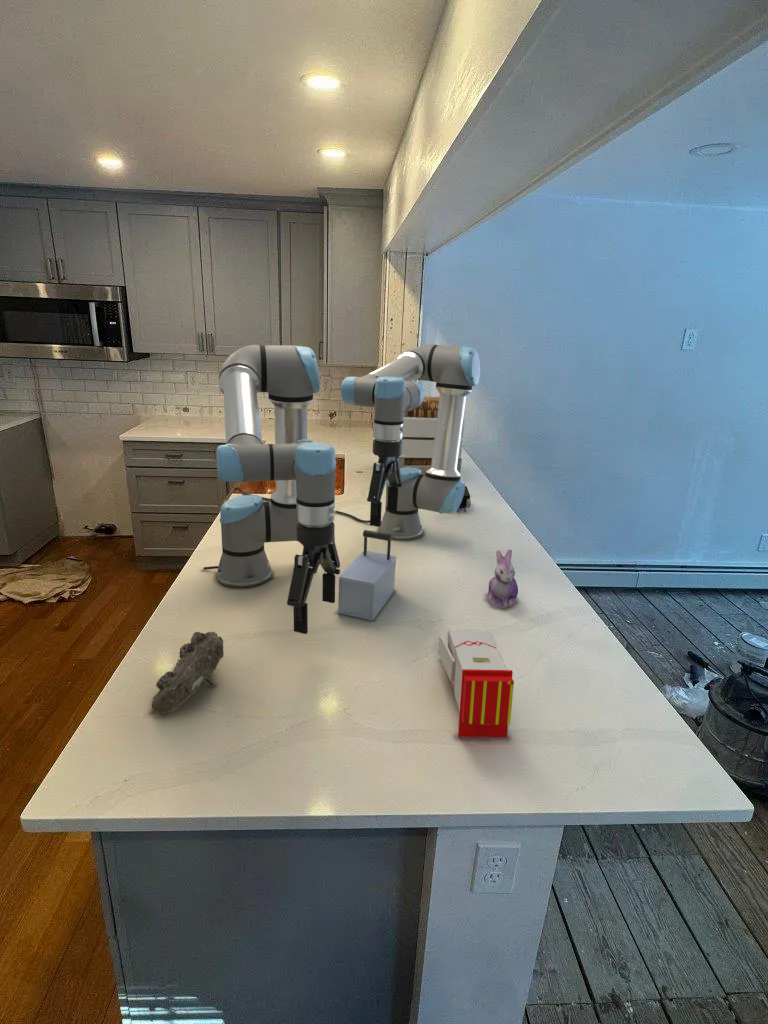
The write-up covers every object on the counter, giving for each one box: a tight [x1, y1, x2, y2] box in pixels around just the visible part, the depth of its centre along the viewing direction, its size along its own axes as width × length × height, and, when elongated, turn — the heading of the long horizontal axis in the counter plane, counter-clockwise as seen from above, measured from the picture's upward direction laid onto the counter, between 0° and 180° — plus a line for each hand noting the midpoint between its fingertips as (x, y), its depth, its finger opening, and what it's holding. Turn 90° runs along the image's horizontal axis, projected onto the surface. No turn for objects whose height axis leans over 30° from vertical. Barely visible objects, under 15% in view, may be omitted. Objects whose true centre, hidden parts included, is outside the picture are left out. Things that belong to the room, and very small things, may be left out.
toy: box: [437, 628, 515, 738], centre depth 117 cm, size 12×13×30 cm
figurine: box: [487, 548, 519, 609], centre depth 154 cm, size 9×10×15 cm
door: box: [338, 529, 397, 586], centre depth 149 cm, size 18×10×8 cm, turn 161°
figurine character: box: [456, 485, 472, 513], centre depth 228 cm, size 7×8×15 cm
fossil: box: [151, 631, 225, 714], centre depth 116 cm, size 22×10×15 cm
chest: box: [337, 559, 397, 621], centre depth 151 cm, size 18×10×10 cm, turn 161°
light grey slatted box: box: [399, 396, 465, 475], centre depth 268 cm, size 34×33×41 cm
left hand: (315, 616), depth 119 cm, fingers open, 13 cm apart
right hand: (384, 517), depth 152 cm, fingers open, 13 cm apart
